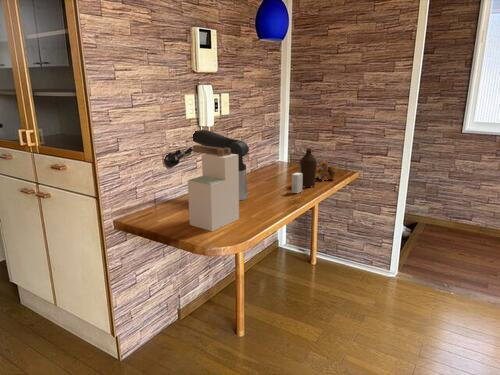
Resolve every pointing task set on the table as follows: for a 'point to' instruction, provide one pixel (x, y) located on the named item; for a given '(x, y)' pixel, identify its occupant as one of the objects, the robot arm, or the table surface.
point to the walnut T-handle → (212, 150)
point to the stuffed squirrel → (326, 171)
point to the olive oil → (308, 169)
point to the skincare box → (297, 182)
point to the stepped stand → (215, 192)
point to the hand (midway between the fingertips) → (186, 149)
